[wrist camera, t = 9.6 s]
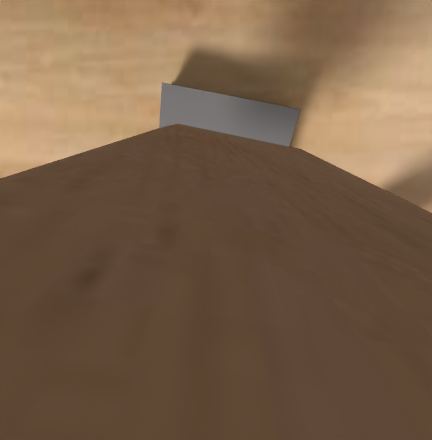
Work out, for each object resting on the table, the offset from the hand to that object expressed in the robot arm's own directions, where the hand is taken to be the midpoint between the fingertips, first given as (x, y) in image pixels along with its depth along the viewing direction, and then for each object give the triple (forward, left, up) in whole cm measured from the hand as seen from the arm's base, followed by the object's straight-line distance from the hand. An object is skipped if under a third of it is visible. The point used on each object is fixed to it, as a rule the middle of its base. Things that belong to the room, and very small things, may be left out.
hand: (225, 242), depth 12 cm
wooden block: (0, 0, -6) cm, 6 cm away
